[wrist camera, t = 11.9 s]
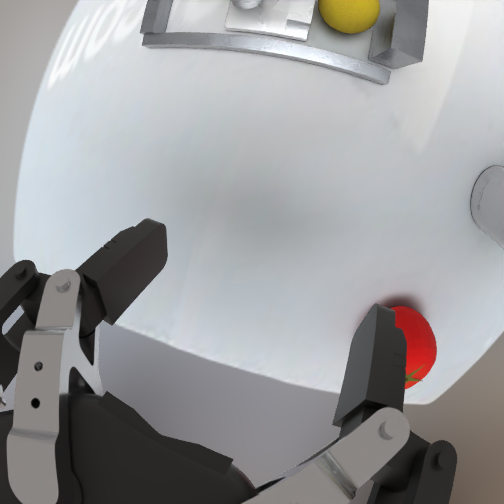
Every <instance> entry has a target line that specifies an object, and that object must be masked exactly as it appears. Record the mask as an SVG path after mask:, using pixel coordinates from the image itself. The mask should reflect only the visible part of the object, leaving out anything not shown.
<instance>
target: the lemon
mask: <svg viewBox="0 0 504 504" xmlns="http://www.w3.org/2000/svg"><path fill="white" fill-rule="evenodd" d="M318 7H319V11H320V14H321V16H322V18H323V19H324V21H325V22H326V23H327V24H328V25H329V26H331V27H332V28H334V29H335V30H338V31H340V32H344V33H360V32H364V31H366V30H367V29H369V28H371V27H372V26H373V25H374V24H375V23H376V21H377V19H378V17H379V14H380V3H379V0H318Z"/></svg>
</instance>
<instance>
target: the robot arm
mask: <svg viewBox="0 0 504 504" xmlns="http://www.w3.org/2000/svg"><path fill="white" fill-rule="evenodd" d="M471 212H472V217H473V219H474V221H475V223H476V224H477V226H478V227H479V228H480V229H482V230H483V231H484V232H485V233H486V234H487V235H489V236H490V237H491V238H492V239H493V240H494V241H495V242H496V243H497V244H498V245H500V246H501V247H502V248H503V249H504V167H501V166H492V167H490V168H488V169H486V170H485V171H484V172H483V173H482V174H481V175H480V177H479V178H478V180H477V182H476V184H475V186H474V189H473V193H472V198H471ZM167 257H168V253H167V234H166V226H165V225H164V224H162V223H159V222H157V221H154V220H151V219H148V218H147V219H144V220H143V221H142V222H140V223H139V224H138V225H137V226H136V227H133V226H132V227H130V228H128V229H125V230H123V231H121V232H119V233H118V234H117V235H116V236H115V237H113V238H112V239H111V241H109V242H107V243H106V244H105V245H104V247H101V248H100V249H99V250H98V251H97V252H96V253H94V254H93V255H92V256H91V257H90V258H89V259H88V260H86V261H85V262H84V263H83V264H82V265H81V266H80V267H79V268H77V269H76V270H75V271H74V270H70V269H64V270H60V271H58V272H56V273H54V274H53V275H47V274H43V273H39V272H38V271H37V269H36V266H35V264H34V263H33V262H32V261H30V260H22V261H19V262H17V263H16V264H14V265H13V266H12V267H11V268H10V269H9V270H8V271H7V272H6V273H5V274H4V275H3V276H2V277H1V278H0V409H3V408H4V407H5V406H6V399H5V397H4V396H3V392H4V391H5V389H6V388H7V386H8V385H9V384H10V382H11V381H12V379H13V378H14V377H15V375H16V374H17V380H16V389H15V400H14V410H9V411H4V412H0V504H348V503H349V502H350V501H351V500H352V499H353V498H354V497H355V492H356V490H357V489H358V488H359V487H360V486H362V485H363V484H364V483H365V482H366V481H367V480H369V479H371V480H373V481H374V484H373V487H372V490H371V493H370V496H369V499H368V501H367V504H448V503H449V499H450V495H451V491H452V486H453V481H454V476H455V471H456V464H457V454H456V451H455V449H454V447H453V446H452V444H451V443H449V442H447V441H445V440H441V441H436V442H434V443H432V444H430V443H429V442H427V441H425V440H424V439H422V438H420V437H419V436H417V435H416V434H414V433H413V432H412V431H411V430H410V428H409V423H408V420H407V418H406V417H405V416H404V414H403V402H404V392H405V379H406V369H405V368H406V362H407V359H406V356H407V341H406V338H405V335H404V332H403V330H402V329H400V328H397V327H395V317H396V314H395V311H394V310H392V309H390V308H387V307H384V306H381V305H379V304H374V305H373V306H372V308H371V309H370V311H369V312H368V314H367V315H366V317H365V318H364V320H363V321H362V323H361V324H360V326H359V327H358V329H357V330H356V332H355V334H354V337H353V339H352V343H351V347H350V352H349V357H348V362H347V367H346V371H345V376H344V380H343V385H342V389H341V393H340V397H339V401H338V405H337V409H336V413H335V416H334V420H333V424H332V425H334V426H338V427H341V431H340V435H339V437H337V438H336V439H335V440H333V441H332V442H330V443H329V444H328V445H326V446H325V447H323V448H322V449H320V450H319V451H318V452H316V453H315V454H313V455H312V456H310V457H309V458H307V459H305V460H304V461H302V462H301V463H299V464H298V465H296V466H295V467H293V468H291V469H289V470H287V471H285V472H283V473H282V474H280V475H278V476H276V477H274V478H272V479H271V480H269V481H267V482H265V483H263V484H261V485H260V486H258V487H256V488H255V487H254V486H253V484H252V483H251V481H250V480H249V479H248V478H247V476H246V475H245V474H244V473H243V472H242V471H240V470H239V469H238V468H237V467H235V466H234V465H233V464H231V463H232V461H233V459H232V458H229V457H227V456H224V455H222V454H219V453H217V452H215V451H213V450H210V449H208V448H206V447H203V446H201V445H199V444H195V443H191V442H186V441H182V440H178V439H174V438H170V437H166V436H163V435H161V434H159V433H158V432H157V431H155V430H154V429H153V428H152V427H151V426H150V425H149V424H148V423H147V422H146V421H145V420H144V419H143V418H142V417H141V416H140V415H139V414H138V413H137V412H136V411H135V410H134V409H133V408H131V407H130V406H128V405H127V404H125V403H124V402H122V401H121V400H119V399H118V398H116V397H115V396H113V395H112V394H110V393H109V392H107V391H106V393H105V394H104V395H103V390H102V384H101V380H100V377H99V372H98V347H99V323H100V322H101V321H102V320H104V321H106V322H107V323H109V324H111V325H113V324H114V323H115V322H116V321H117V319H118V318H119V317H120V316H121V315H122V314H123V312H124V311H125V310H126V309H127V308H128V307H129V306H130V305H131V303H132V302H133V301H134V300H135V299H136V298H137V297H138V296H139V294H140V293H141V292H142V291H143V290H144V289H145V288H146V287H147V286H148V285H149V283H150V282H151V281H152V280H153V279H154V278H155V277H156V276H157V275H158V274H159V273H160V271H161V270H162V269H163V268H164V266H165V264H166V261H167ZM19 305H21V307H22V309H23V310H24V313H23V315H22V316H21V317H20V318H19V319H18V320H17V321H16V323H15V324H14V325H13V326H12V327H11V329H10V330H9V331H8V332H7V333H6V334H5V335H3V334H2V326H3V324H4V322H5V321H6V320H7V319H8V318H9V317H10V315H11V314H12V313H13V312H14V311H15V310H16V309H17V307H18V306H19Z"/></svg>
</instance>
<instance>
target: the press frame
mask: <svg viewBox="0 0 504 504" xmlns="http://www.w3.org/2000/svg"><path fill="white" fill-rule="evenodd" d="M172 2H173V0H148V1H147V5H146V9H145V13H144V17H143V21H142V25H141V30H140V33H141V34H144V37H143V42H142V46H145V47H148V48H203V49H218V50H230V51H240V52H248V53H256V54H263V55H269V56H275V57H281V58H286V59H291V60H296V61H301V62H305V63H310V64H314V65H318V66H322V67H326V68H330V69H334V70H337V71H341V72H344V73H348V74H351V75H354V76H357V77H361V78H364V79H367V80H370V81H373V82H375V83H378V84H381V85H384V84H388V83H389V78H390V73H391V71H389V70H386V69H383V68H380V67H378V66H375V65H372V64H369V63H366V62H363V61H360V60H357V59H354V58H351V57H347V56H344V55H340V54H337V53H333V52H329V51H326V50H322V49H318V48H313V47H309V46H304V45H300V44H295V43H290V42H284V41H278V40H272V39H266V38H259V37H251V36H242V35H231V34H217V33H191V32H175V33H165V31H166V26H167V22H168V18H169V14H170V9H171V5H172ZM379 3H380V14H379V17H378V19H377V21H376V23H375V24H374V27H373V34H372V40H371V46H370V52H369V57H368V60H371V61H373V62H376V63H379V64H382V65H384V66H387V67H390V68H392V69H397V68H400V67H404V66H407V65H411V64H414V63H418V62H422V60H423V53H424V46H425V37H426V28H427V17H428V4H429V0H379Z"/></svg>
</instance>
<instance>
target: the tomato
mask: <svg viewBox="0 0 504 504" xmlns="http://www.w3.org/2000/svg"><path fill="white" fill-rule="evenodd" d="M390 309H392V310H394V311H395V314H396V317H395V327H397V328H400V329H402V330H403V332H404V335H405V338H406V341H407V356H406V359H407V362H406V368H405V369H406V379H405V389H408V388H410V387H412V386H413V385H415V384H416V383H418V382H419V381H421V380H422V379H423V378H424V377H425V376H426V375H427V374H428V373H429V371H430V370H431V368H432V366H433V365H434V362H435V360H436V354H437V347H436V340H435V336H434V334H433V331H432V329H431V327H430V325H429V323H428V322H427V320H426V319H425V318H424V317H423V316H422V315H421V314H420V313H419V312H417V311H415V310H414V309H412V308H409V307H405V306H396V307H392V308H390Z"/></svg>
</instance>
